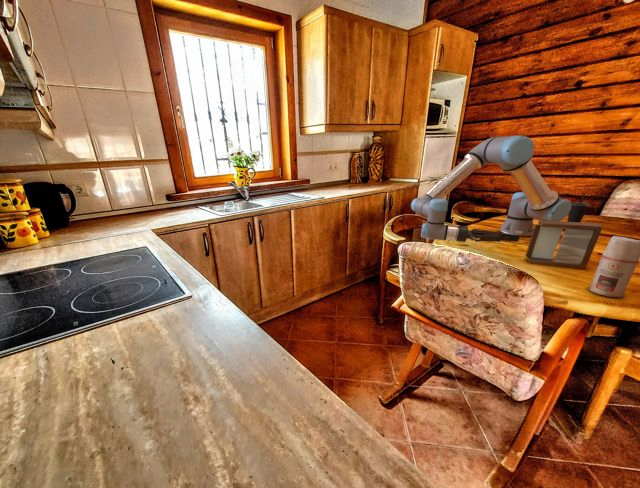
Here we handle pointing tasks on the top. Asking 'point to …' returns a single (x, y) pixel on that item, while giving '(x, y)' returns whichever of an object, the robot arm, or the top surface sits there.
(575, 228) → the showcase frame
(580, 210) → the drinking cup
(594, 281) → the spray can
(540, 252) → the door
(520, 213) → the robot arm
